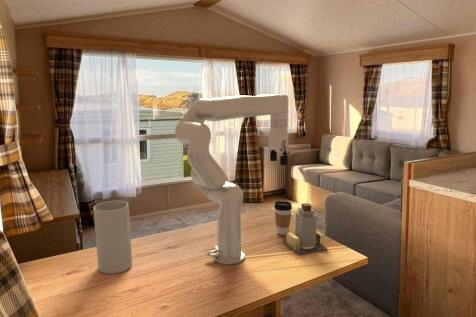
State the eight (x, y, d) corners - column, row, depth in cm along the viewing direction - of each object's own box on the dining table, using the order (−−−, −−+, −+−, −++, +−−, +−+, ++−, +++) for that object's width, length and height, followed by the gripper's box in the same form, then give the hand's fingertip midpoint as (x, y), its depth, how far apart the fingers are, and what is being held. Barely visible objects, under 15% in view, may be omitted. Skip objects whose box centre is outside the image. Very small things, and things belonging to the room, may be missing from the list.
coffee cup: (271, 230, 175) (271, 200, 173) (286, 228, 178) (287, 199, 175) (278, 236, 168) (278, 206, 165) (294, 234, 170) (295, 204, 167)
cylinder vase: (138, 261, 144) (134, 202, 139) (120, 276, 132) (115, 212, 127) (111, 258, 147) (107, 199, 142) (91, 272, 135) (86, 209, 131)
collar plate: (298, 255, 148) (299, 241, 147) (283, 243, 160) (284, 230, 159) (327, 250, 153) (327, 236, 152) (310, 238, 165) (311, 226, 164)
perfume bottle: (315, 246, 154) (317, 206, 151) (301, 247, 153) (302, 207, 149) (309, 240, 161) (310, 201, 157) (295, 241, 159) (296, 202, 156)
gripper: (262, 122, 160) (262, 160, 163) (280, 125, 144) (280, 167, 147) (277, 122, 162) (277, 158, 166) (297, 125, 147) (296, 166, 150)
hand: (278, 162), depth 156 cm, fingers open, 9 cm apart
